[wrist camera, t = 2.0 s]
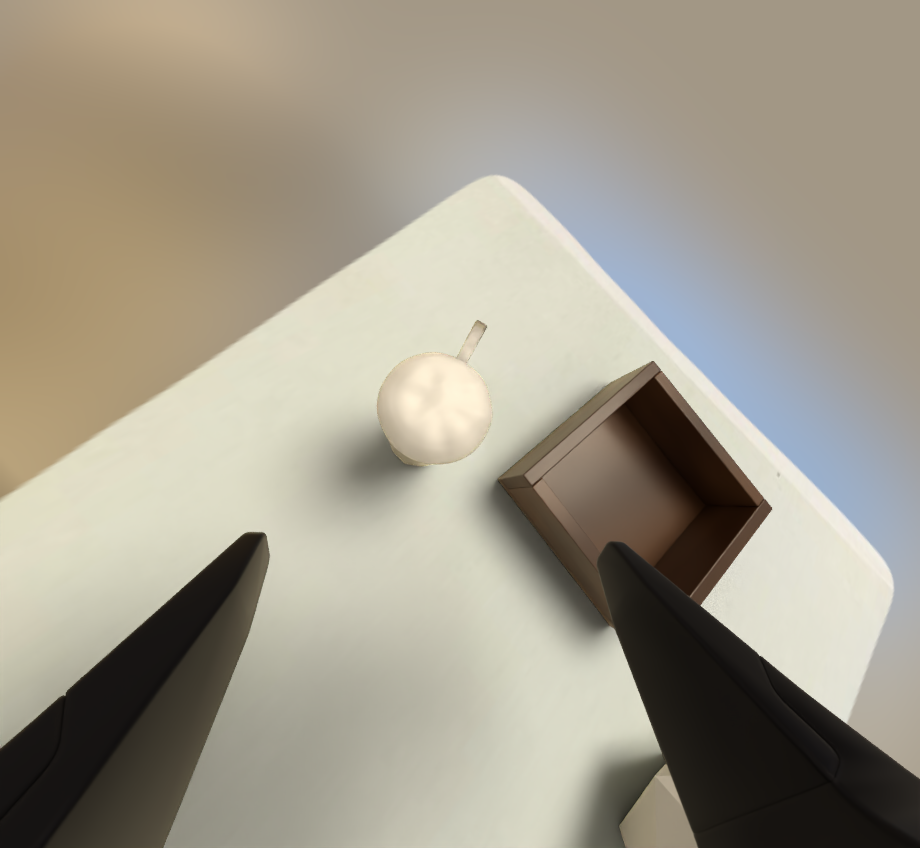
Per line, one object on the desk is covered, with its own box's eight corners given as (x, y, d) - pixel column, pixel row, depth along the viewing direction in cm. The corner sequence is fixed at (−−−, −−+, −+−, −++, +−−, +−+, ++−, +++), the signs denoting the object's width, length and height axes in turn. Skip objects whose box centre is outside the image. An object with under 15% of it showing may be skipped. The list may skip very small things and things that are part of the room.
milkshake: (470, 416, 22) (535, 353, 13) (432, 490, 21) (474, 482, 11) (408, 382, 22) (428, 290, 12) (365, 455, 20) (349, 416, 11)
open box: (710, 507, 25) (773, 508, 21) (610, 626, 21) (663, 656, 17) (610, 382, 25) (653, 360, 21) (496, 479, 22) (522, 474, 18)
